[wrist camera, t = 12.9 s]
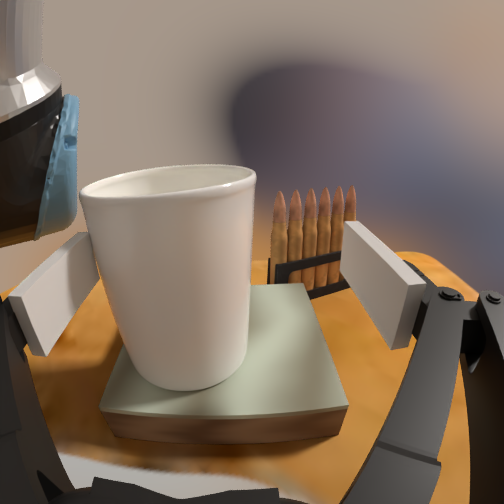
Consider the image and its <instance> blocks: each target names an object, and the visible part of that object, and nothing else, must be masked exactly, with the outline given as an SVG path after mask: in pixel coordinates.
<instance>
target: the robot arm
mask: <svg viewBox="0 0 504 504" xmlns="http://www.w3.org/2000/svg"><path fill="white" fill-rule="evenodd" d="M43 6H44V0H0V248H2V247H6V246H10V245H14V244H18V243H22V242H27V241H30V240H34V241H36V240H38V239H39V238H40V237H42V236H45V235H48V234H52V233H55V232H58V231H62V230H65V229H66V228H68V227H69V226H70V225H71V224H72V222H73V221H74V219H75V217H76V214H77V130H78V115H79V98H78V97H77V96H71V95H70V94H66V95H64V97H62V90H61V77H60V75H59V74H58V73H57V72H55V71H54V70H53V69H51V68H50V67H49V66H47V65H46V64H44V63H43V60H42V22H43ZM340 272H341V273H342V275H343V276H344V278H345V279H346V281H347V282H348V284H349V285H350V287H351V288H352V290H353V291H354V293H355V294H356V296H357V297H358V299H359V301H360V302H361V304H362V305H363V307H364V308H365V310H366V311H367V313H368V314H369V316H370V318H371V319H372V321H373V322H374V324H375V325H376V327H377V329H378V330H379V332H380V333H381V335H382V337H383V338H384V340H385V342H386V343H387V345H388V346H389V348H390V350H394V349H399V348H405V347H408V345H409V342H410V339H411V336H412V334H413V336H414V337H415V338H416V340H417V342H416V344H415V347H414V350H413V353H412V355H411V358H410V361H409V364H408V367H407V370H406V372H405V375H404V378H403V380H402V383H401V385H400V388H399V390H398V393H397V395H396V397H395V400H394V402H393V404H392V407H391V409H390V411H389V413H388V416H387V418H386V420H385V422H384V424H383V426H382V428H381V431H380V433H379V435H378V437H377V439H376V441H375V443H374V445H373V447H372V448H371V450H370V452H369V454H368V456H367V458H366V460H365V462H364V463H363V465H362V467H361V469H360V470H359V472H358V474H357V476H356V477H355V479H354V481H353V482H352V484H351V486H350V487H349V489H348V491H347V492H346V494H345V495H344V497H343V498H342V500H341V501H340V503H339V504H429V502H430V500H431V497H432V495H433V492H434V489H435V486H436V483H437V481H438V478H439V474H440V470H441V462H438V461H437V456H438V452H439V449H440V446H441V442H442V439H443V435H444V431H445V428H446V424H447V420H448V415H449V411H450V407H451V402H452V397H453V392H454V387H455V381H456V375H457V369H458V362H459V358H460V364H461V370H462V376H463V382H464V389H465V397H466V405H467V415H468V426H469V441H470V502H469V504H504V297H503V296H502V295H500V294H499V293H496V292H495V291H489V290H484V291H481V292H480V294H479V297H478V300H477V302H472V301H464V297H463V296H462V294H461V293H459V292H458V291H456V290H454V289H452V288H448V287H437V286H436V285H435V284H434V283H433V282H432V281H431V280H430V279H428V278H427V277H426V276H424V274H423V273H422V272H421V271H419V269H418V268H417V267H415V266H414V265H413V264H411V263H409V262H407V261H405V260H402V259H400V258H399V257H398V256H397V255H396V254H395V253H394V252H393V251H392V250H391V249H389V248H388V247H387V246H386V245H385V244H384V243H383V242H381V241H380V240H379V239H378V238H377V237H376V236H375V235H374V234H372V233H371V232H370V231H369V230H368V229H367V228H365V227H364V226H363V225H362V224H361V223H360V222H358V221H344V232H343V242H342V252H341V262H340ZM99 279H100V277H99V273H98V269H97V264H96V260H95V255H94V251H93V246H92V242H91V238H90V234H89V232H79V233H77V234H75V235H74V236H73V237H72V238H71V239H69V240H68V241H67V242H66V243H65V244H63V245H62V246H61V247H60V248H59V249H58V250H56V252H54V253H53V254H52V255H51V256H50V257H48V259H46V260H45V261H44V262H43V263H42V264H41V265H40V266H38V267H37V268H36V269H35V270H34V271H33V272H32V273H31V274H30V275H29V276H28V277H27V278H25V279H24V280H23V281H22V282H21V283H20V284H19V285H18V286H17V287H16V288H15V289H14V290H13V291H12V292H11V293H10V294H9V295H8V297H7V298H6V299H5V300H4V301H3V302H2V299H1V296H0V504H308V503H304V502H301V501H297V500H292V499H286V498H279V491H278V488H269V489H254V490H229V491H225V492H220V493H216V494H210V495H205V496H200V497H194V498H188V499H176V498H172V497H169V496H165V495H163V494H160V493H157V492H154V491H151V490H149V489H146V488H143V487H140V486H138V485H135V484H130V483H124V482H118V481H113V480H108V479H103V478H98V477H94V479H93V483H92V487H86V488H79V489H75V488H74V486H73V485H72V483H71V481H70V480H69V478H68V475H67V473H66V471H65V469H64V467H63V465H62V462H61V460H60V458H59V455H58V453H57V451H56V448H55V446H54V443H53V441H52V438H51V436H50V433H49V430H48V428H47V425H46V422H45V419H44V416H43V413H42V410H41V407H40V404H39V401H38V397H37V394H36V391H35V387H34V384H33V380H32V376H31V372H30V368H29V364H28V360H27V356H26V354H25V352H24V350H23V348H24V347H25V345H26V344H28V346H29V348H30V350H31V352H32V354H33V355H37V356H44V357H47V355H48V354H49V352H50V351H51V349H52V347H53V346H54V344H55V343H56V341H57V340H58V338H59V336H60V335H61V333H62V332H63V330H64V329H65V327H66V326H67V324H68V323H69V321H70V320H71V318H72V317H73V316H74V314H75V313H76V311H77V310H78V308H79V307H80V305H81V304H82V303H83V301H84V300H85V298H86V297H87V296H88V294H89V293H90V291H91V290H92V289H93V287H94V286H95V285H96V283H97V282H98V281H99Z"/></svg>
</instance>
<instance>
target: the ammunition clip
mask: <svg viewBox="0 0 504 504" xmlns="http://www.w3.org/2000/svg"><path fill="white" fill-rule="evenodd" d="M343 208H344V201H343V193H342V190H341V187H340V186H339V187H338V188H337V190H336V193H335V196H334V201H333V207H332V215H331V221H330V197H329V192H328V189H327V188H326V187H325V188H324V190H323V192H322V195H321V199H320V204H319V214H318V221H317V225H316V220H317V219H316V198H315V195H314V191H313V189H312V188H311V189H310V190H309V192H308V195H307V199H306V204H305V215H304V222H303V227H302V210H301V200H300V196H299V193H298V191H297V190H295V191H294V193H293V196H292V200H291V204H290V213H289V214H290V215H289V226H288V230H286V209H285V202H284V197H283V195H282V193H281V191H279V192H278V194H277V197H276V200H275V205H274V213H273V229H272V233H271V258H269V259H268V276H267V285H269V284H292V283H303V284H304V286H305V289H306V291H307V294H308V296H309V299H310V300H311V299H314V298H318V297H321V296H324V295H328V294H331V293H334V292H338V291H341V290H344V289H347V288H350V285H349V284H348V282H347V281H346V279H345V278H344V276H343V275H342V273H341V272H340V262H341V252H342V242H343V232H344V221H356V219H355V218H356V217H355V216H356V211H355V210H356V195H355V190H354V187H353V185H352V186H350V189H349V191H348V194H347V198H346V203H345V211H344V218H343Z"/></svg>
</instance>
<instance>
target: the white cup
mask: <svg viewBox="0 0 504 504" xmlns="http://www.w3.org/2000/svg"><path fill="white" fill-rule="evenodd" d="M255 183H256V173H255V172H254V171H253V170H251V169H248V168H245V167H240V166H233V165H217V164H197V165H180V166H169V167H159V168H152V169H145V170H139V171H134V172H129V173H124V174H120V175H116V176H112V177H109V178H105V179H102V180H99V181H96V182H94V183H91V184H89V185H87V186H86V187H84V188H83V189H81V191H80V192H79V199H80V202H81V205H82V208H83V212H84V216H85V220H86V225H87V229H88V232H89V234H90V238H91V242H92V246H93V251H94V255H95V259H96V263H97V266H98V270H99V273H100V276H101V280H102V283H103V286H104V289H105V292H106V295H107V298H108V301H109V304H110V307H111V310H112V313H113V316H114V319H115V322H116V324H117V327H118V330H119V332H120V335H121V337H122V340H123V343H124V345H125V347H126V350H127V352H128V355H129V357H130V359H131V361H132V363H133V365H134V367H135V369H136V370H137V372H138V373H139V374H140V375H141V376H142V377H143V378H144V379H145V380H147V381H148V382H150V383H151V384H153V385H155V386H158V387H160V388H164V389H168V390H173V391H194V390H200V389H205V388H208V387H211V386H214V385H216V384H219V383H221V382H222V381H224V380H226V379H227V378H229V377H230V376H231V375H233V374H234V373H235V372H236V371H237V370H238V369H239V367H240V366H241V364H242V363H243V361H244V359H245V356H246V352H247V346H248V332H249V310H250V286H251V262H252V236H253V212H254V191H255Z"/></svg>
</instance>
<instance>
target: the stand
mask: <svg viewBox="0 0 504 504" xmlns="http://www.w3.org/2000/svg"><path fill="white" fill-rule="evenodd" d="M348 406H349V404H348V401H347V398H346V395H345V392H344V390H343V387H342V384H341V381H340V379H339V376H338V373H337V370H336V368H335V365H334V362H333V359H332V357H331V354H330V351H329V349H328V346H327V343H326V341H325V338H324V335H323V333H322V330H321V327H320V325H319V322H318V320H317V317H316V314H315V312H314V309H313V307H312V304H311V302H310V299H309V296H308V294H307V291H306V289H305V286H304V284H303V283H292V284H269V285H251V286H250V310H249V332H248V346H247V352H246V356H245V359H244V361H243V363H242V364H241V366H240V367H239V369H238V370H237V371H236V372H235V373H234V374H233V375H231V376H230V377H229V378H227V379H226V380H224V381H222V382H221V383H219V384H216V385H214V386H211V387H208V388H205V389H200V390H194V391H173V390H168V389H164V388H160V387H158V386H155V385H153V384H151V383H150V382H148V381H147V380H145V379H144V378H143V377H142V376H141V375H140V374H139V373H138V372H137V370H136V369H135V367H134V365H133V363H132V361H131V359H130V357H129V355H128V352H127V350H126V347H125V345H124V344H123V346H122V349H121V351H120V353H119V356H118V358H117V361H116V363H115V366H114V368H113V370H112V373H111V375H110V378H109V380H108V383H107V386H106V388H105V391H104V393H103V396H102V399H101V401H100V404H99V409H100V411H101V413H102V414H103V416H104V418H105V420H106V421H107V423H108V425H109V427H110V428H111V430H112V432H113V433H114V435H115V436H116V437H123V438H130V439H139V440H148V441H158V442H170V443H188V444H253V443H270V442H283V441H294V440H303V439H311V438H319V437H325V436H332V435H338V434H339V432H340V429H341V426H342V423H343V420H344V417H345V415H346V412H347V409H348Z"/></svg>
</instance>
